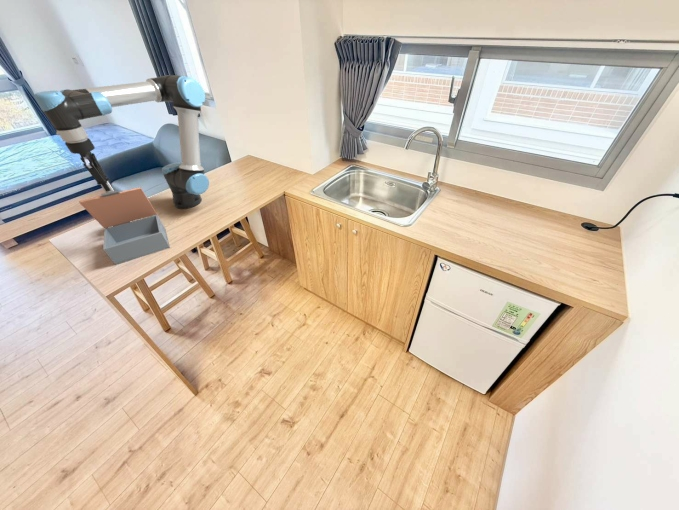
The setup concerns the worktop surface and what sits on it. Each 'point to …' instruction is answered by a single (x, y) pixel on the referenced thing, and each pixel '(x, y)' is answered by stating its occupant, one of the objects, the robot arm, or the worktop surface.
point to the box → (135, 239)
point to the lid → (119, 207)
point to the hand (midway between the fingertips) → (112, 196)
